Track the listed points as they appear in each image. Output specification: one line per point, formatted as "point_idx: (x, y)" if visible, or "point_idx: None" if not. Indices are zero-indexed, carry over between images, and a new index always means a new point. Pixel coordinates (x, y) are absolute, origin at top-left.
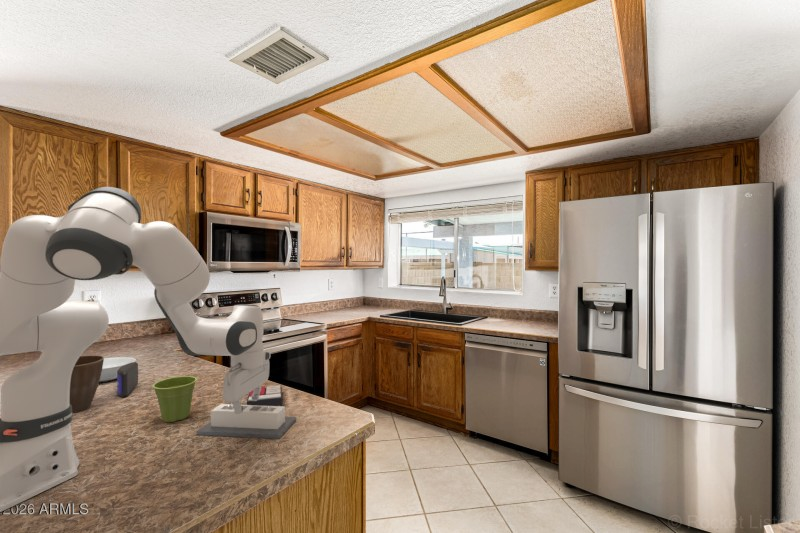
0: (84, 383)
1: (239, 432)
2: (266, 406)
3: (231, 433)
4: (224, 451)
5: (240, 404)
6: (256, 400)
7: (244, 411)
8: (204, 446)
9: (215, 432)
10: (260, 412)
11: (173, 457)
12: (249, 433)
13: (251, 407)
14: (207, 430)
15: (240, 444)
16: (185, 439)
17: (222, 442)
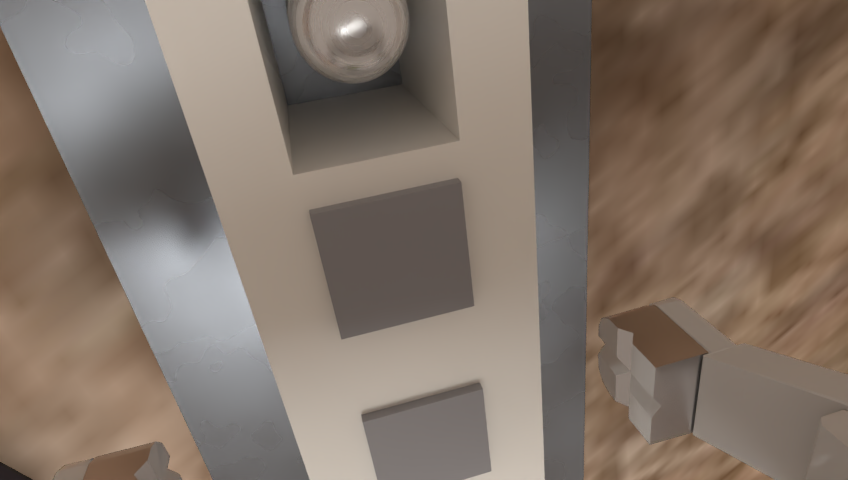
0: None
1: (573, 191)
2: (238, 147)
3: (583, 251)
4: (810, 99)
5: (794, 376)
6: (156, 448)
7: (523, 328)
8: (724, 297)
9: (583, 374)
10: (526, 65)
11: (840, 345)
12: (583, 74)
13: (368, 347)
14: (566, 441)
15: (703, 50)
16: (633, 467)
17: (668, 228)
